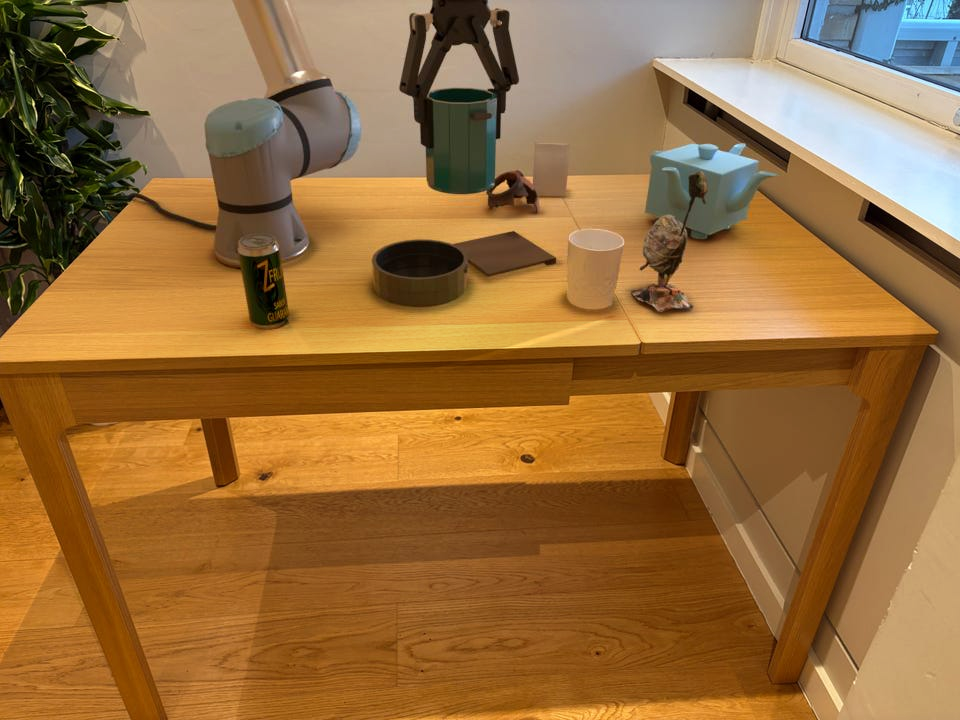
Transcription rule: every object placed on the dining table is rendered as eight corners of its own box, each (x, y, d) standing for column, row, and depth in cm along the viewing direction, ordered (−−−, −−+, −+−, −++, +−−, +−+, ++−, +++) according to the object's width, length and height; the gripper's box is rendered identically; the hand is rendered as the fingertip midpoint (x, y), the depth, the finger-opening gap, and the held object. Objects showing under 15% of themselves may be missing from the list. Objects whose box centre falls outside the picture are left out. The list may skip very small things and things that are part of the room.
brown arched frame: (543, 221, 135) (525, 187, 130) (498, 238, 139) (478, 205, 134) (544, 185, 143) (526, 151, 138) (501, 201, 147) (483, 169, 142)
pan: (359, 279, 112) (357, 250, 110) (440, 261, 119) (440, 233, 116) (398, 318, 102) (396, 287, 99) (484, 296, 108) (485, 266, 106)
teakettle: (637, 206, 142) (648, 130, 134) (734, 209, 141) (750, 133, 133) (651, 244, 126) (664, 161, 118) (760, 248, 125) (780, 164, 117)
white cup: (581, 285, 112) (587, 224, 107) (626, 300, 108) (634, 238, 103) (552, 303, 107) (557, 240, 102) (598, 320, 103) (605, 255, 97)
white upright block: (565, 196, 146) (569, 147, 140) (532, 195, 146) (535, 145, 141) (565, 190, 149) (569, 141, 143) (532, 189, 149) (535, 140, 144)
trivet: (448, 250, 123) (448, 244, 122) (513, 236, 128) (513, 230, 128) (488, 280, 113) (488, 274, 113) (555, 263, 119) (556, 257, 118)
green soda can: (242, 324, 100) (227, 243, 94) (269, 308, 104) (256, 230, 98) (271, 334, 98) (258, 252, 92) (298, 317, 102) (287, 238, 96)
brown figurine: (672, 280, 114) (694, 154, 103) (697, 315, 105) (725, 180, 94) (622, 282, 113) (639, 155, 103) (643, 316, 104) (664, 181, 93)
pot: (412, 175, 110) (408, 89, 103) (470, 166, 114) (470, 83, 107) (450, 202, 100) (449, 109, 93) (513, 191, 104) (516, 101, 97)
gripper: (388, -31, 84) (398, 158, 96) (550, -36, 94) (541, 138, 105) (365, -35, 90) (377, 144, 102) (520, -39, 99) (515, 126, 111)
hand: (461, 141), depth 104 cm, fingers closed on pot, 10 cm apart
